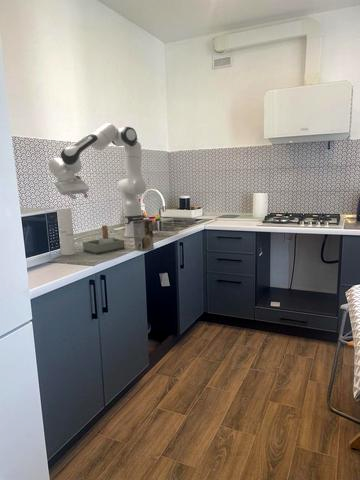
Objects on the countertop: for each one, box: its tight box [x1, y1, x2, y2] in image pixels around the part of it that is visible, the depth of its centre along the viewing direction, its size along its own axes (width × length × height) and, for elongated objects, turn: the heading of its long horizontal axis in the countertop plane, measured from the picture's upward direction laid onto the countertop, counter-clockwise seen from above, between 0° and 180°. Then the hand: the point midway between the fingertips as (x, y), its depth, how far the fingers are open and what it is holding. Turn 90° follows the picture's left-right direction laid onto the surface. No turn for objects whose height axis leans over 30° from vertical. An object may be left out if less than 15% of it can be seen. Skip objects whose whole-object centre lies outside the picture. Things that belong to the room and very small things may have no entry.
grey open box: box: [82, 235, 125, 255], centre depth 204 cm, size 18×15×7 cm
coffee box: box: [133, 219, 155, 252], centre depth 200 cm, size 9×6×16 cm
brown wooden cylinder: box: [101, 224, 109, 239], centre depth 201 cm, size 3×3×13 cm
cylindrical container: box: [56, 207, 76, 256], centre depth 195 cm, size 7×7×25 cm
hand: (80, 197), depth 208 cm, fingers open, 8 cm apart
